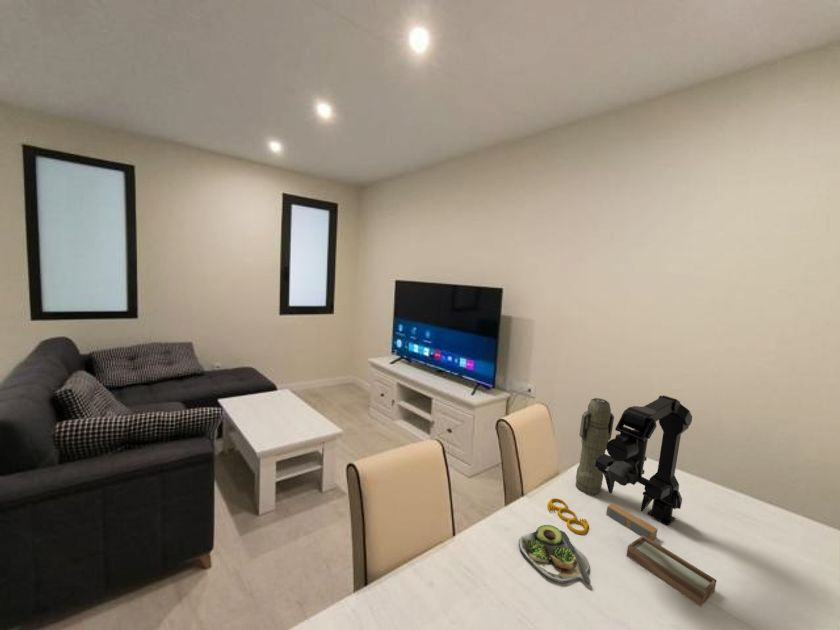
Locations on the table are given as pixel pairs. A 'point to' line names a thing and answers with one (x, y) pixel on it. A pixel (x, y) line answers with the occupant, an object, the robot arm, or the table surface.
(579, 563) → the salad plate
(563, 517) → the gold linked rings
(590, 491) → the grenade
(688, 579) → the brown picture frame
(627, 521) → the tan rectangular block
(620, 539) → the table surface
